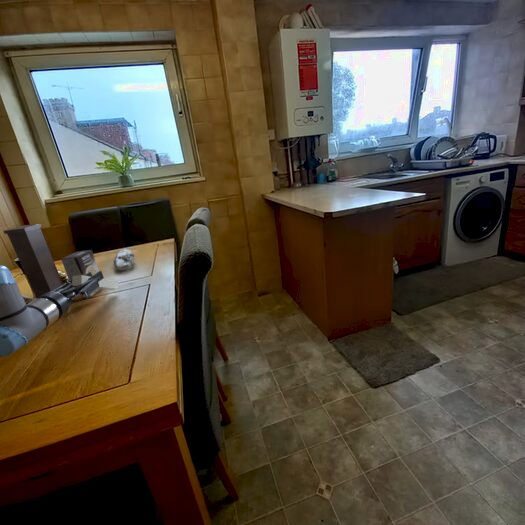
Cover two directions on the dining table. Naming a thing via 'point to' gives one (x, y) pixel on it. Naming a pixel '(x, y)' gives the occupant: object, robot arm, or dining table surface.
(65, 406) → the dining table surface
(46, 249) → the walnut post
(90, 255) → the coffee box
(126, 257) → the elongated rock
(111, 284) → the switch bar
